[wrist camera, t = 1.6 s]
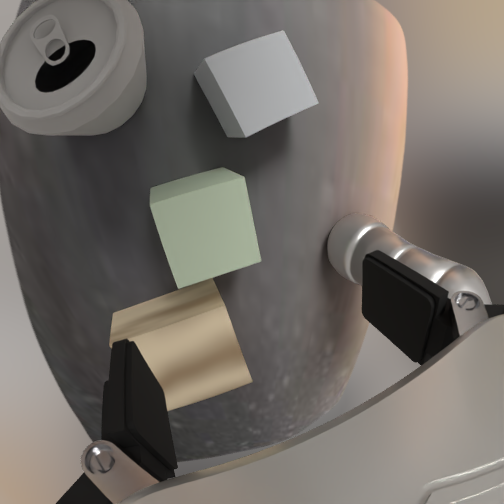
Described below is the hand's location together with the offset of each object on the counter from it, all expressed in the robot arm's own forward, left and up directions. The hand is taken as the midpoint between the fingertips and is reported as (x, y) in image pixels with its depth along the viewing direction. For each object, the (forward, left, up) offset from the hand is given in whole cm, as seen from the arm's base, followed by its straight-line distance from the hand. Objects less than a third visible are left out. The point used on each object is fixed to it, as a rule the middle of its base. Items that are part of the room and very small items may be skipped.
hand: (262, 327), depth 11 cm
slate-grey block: (-10, +6, -15) cm, 19 cm away
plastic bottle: (+6, +14, -15) cm, 22 cm away
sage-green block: (-1, 0, -15) cm, 15 cm away
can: (-13, -5, -15) cm, 20 cm away
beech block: (+11, -5, -15) cm, 20 cm away
